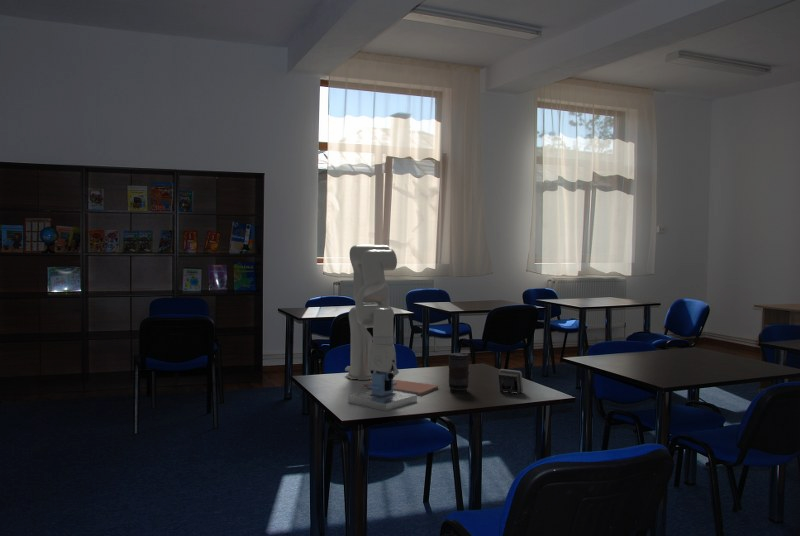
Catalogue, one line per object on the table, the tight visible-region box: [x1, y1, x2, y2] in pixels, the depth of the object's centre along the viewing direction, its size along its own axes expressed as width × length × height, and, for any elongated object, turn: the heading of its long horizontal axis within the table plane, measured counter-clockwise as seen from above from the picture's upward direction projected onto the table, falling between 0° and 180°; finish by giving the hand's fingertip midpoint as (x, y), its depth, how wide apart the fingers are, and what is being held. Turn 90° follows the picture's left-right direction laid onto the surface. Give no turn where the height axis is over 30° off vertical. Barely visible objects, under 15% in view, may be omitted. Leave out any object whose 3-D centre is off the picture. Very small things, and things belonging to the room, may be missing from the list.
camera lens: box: [448, 352, 470, 394], centre depth 257 cm, size 8×8×15 cm
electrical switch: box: [498, 368, 524, 394], centre depth 256 cm, size 9×5×9 cm, turn 59°
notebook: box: [362, 379, 440, 397], centre depth 261 cm, size 27×17×2 cm, turn 60°
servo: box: [367, 371, 397, 395], centre depth 238 cm, size 11×4×8 cm, turn 141°
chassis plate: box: [347, 389, 418, 412], centre depth 237 cm, size 18×18×2 cm
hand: (382, 389), depth 238 cm, fingers closed on servo, 4 cm apart
